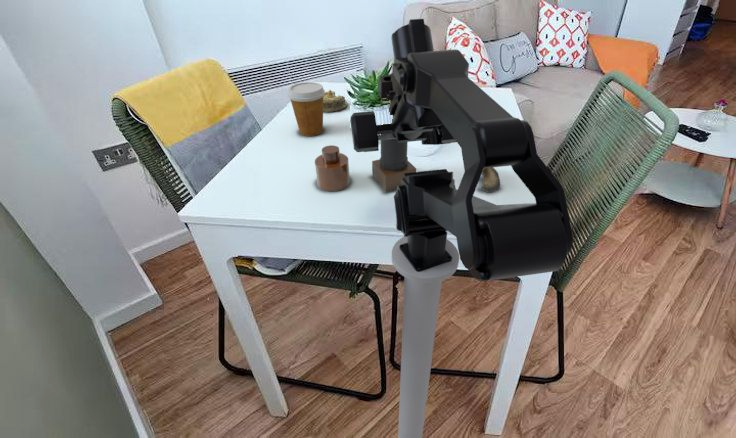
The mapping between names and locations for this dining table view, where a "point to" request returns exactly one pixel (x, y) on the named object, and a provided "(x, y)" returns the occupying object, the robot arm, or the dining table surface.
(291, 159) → the dining table surface
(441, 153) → the dining table surface
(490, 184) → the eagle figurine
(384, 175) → the stand
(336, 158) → the bottle
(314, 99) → the disposable coffee cup
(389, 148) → the cap
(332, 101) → the cake
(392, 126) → the robot arm
